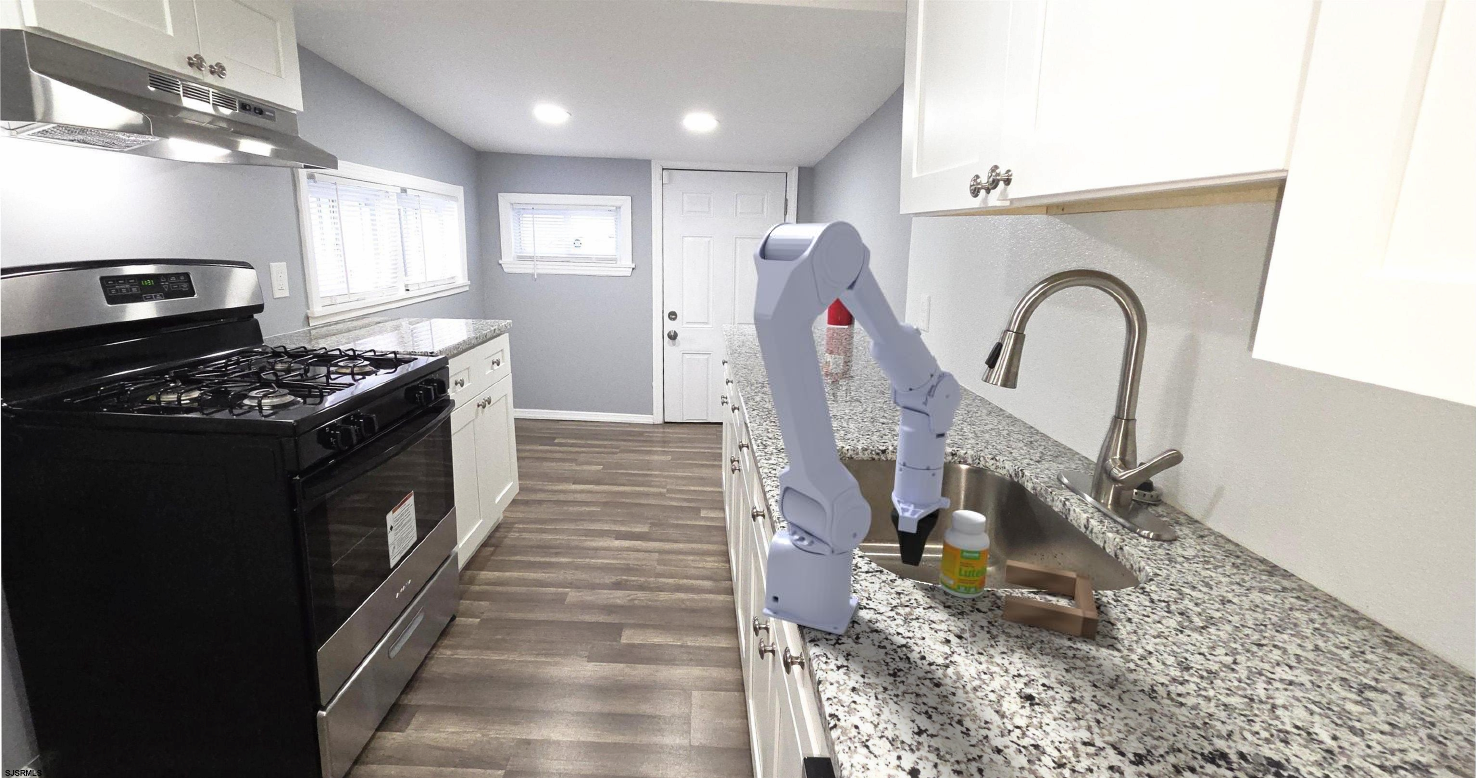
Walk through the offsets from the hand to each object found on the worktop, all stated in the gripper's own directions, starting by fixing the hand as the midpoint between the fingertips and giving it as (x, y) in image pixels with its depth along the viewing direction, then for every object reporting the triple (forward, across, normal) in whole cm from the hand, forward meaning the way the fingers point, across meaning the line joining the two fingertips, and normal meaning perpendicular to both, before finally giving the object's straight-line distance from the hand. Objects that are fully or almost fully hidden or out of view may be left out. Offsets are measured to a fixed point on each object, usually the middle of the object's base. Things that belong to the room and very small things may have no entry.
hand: (910, 562), depth 84 cm
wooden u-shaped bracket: (+2, 0, -15) cm, 16 cm away
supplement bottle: (+2, 0, -6) cm, 7 cm away
